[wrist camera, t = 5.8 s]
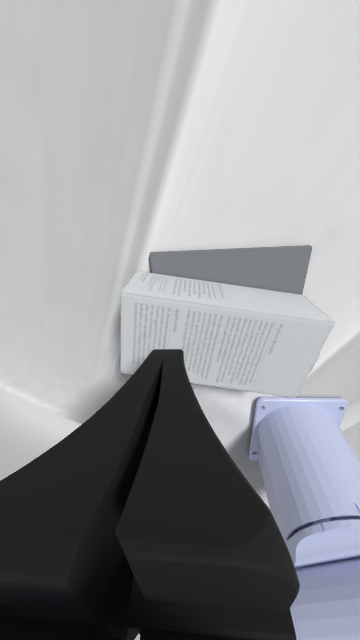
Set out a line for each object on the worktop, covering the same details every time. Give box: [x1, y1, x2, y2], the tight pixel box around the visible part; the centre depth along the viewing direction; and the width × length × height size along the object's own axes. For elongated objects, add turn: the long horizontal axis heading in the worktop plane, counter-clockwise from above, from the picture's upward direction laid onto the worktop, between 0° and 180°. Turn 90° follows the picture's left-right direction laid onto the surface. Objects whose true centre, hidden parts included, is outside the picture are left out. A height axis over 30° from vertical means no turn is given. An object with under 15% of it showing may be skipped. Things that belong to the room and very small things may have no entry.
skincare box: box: [120, 271, 335, 398], centre depth 15 cm, size 6×4×12 cm
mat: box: [150, 245, 312, 295], centre depth 17 cm, size 7×10×1 cm, turn 93°
